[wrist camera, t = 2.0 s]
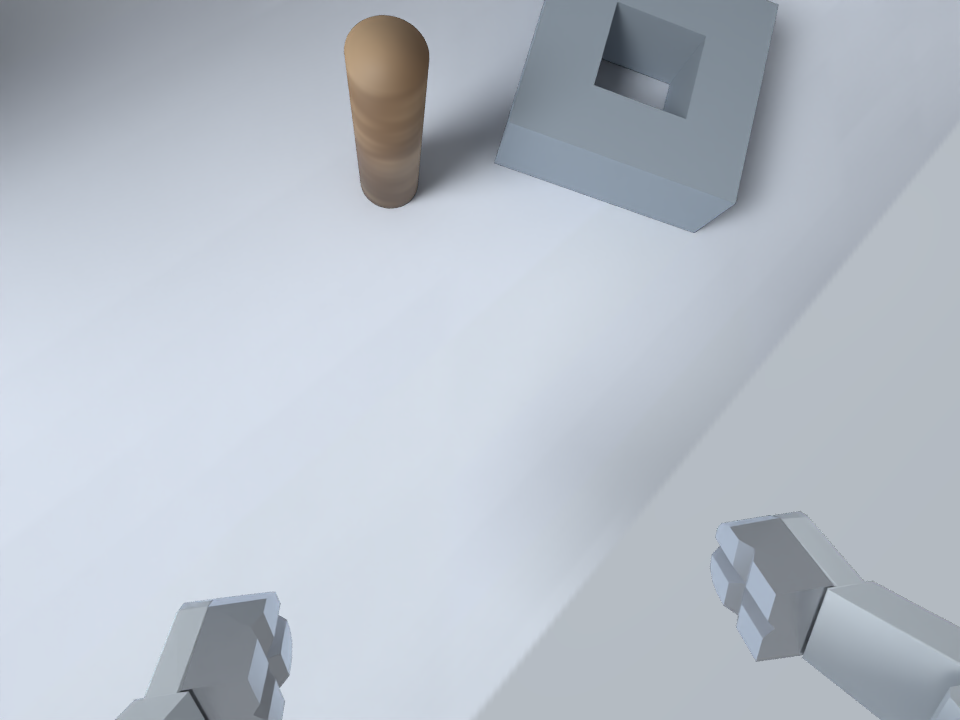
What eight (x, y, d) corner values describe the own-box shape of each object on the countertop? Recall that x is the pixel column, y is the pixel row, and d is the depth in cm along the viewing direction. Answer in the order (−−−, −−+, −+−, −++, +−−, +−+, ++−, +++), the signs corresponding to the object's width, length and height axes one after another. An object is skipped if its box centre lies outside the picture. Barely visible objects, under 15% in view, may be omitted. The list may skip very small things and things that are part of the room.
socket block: (494, 162, 31) (508, 122, 27) (549, -17, 33) (570, -79, 29) (694, 233, 32) (735, 203, 28) (734, 54, 34) (778, 4, 31)
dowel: (352, 197, 30) (332, 74, 20) (370, 147, 30) (359, 3, 20) (408, 216, 30) (415, 103, 20) (424, 166, 30) (439, 32, 21)
